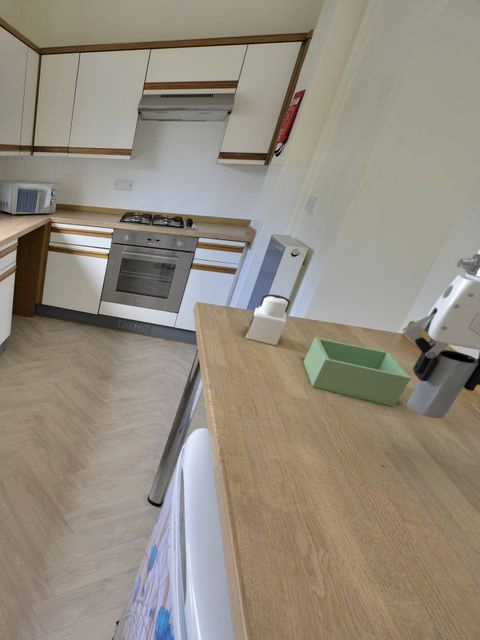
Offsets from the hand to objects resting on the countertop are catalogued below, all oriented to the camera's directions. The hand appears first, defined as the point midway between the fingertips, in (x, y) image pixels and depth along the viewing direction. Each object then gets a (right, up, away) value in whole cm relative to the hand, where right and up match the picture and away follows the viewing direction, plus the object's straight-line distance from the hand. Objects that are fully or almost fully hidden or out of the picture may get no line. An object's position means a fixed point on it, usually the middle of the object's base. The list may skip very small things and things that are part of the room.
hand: (442, 380), depth 66 cm
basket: (+8, -3, +26) cm, 28 cm away
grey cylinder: (0, -5, +3) cm, 6 cm away
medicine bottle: (+4, +7, +47) cm, 48 cm away
